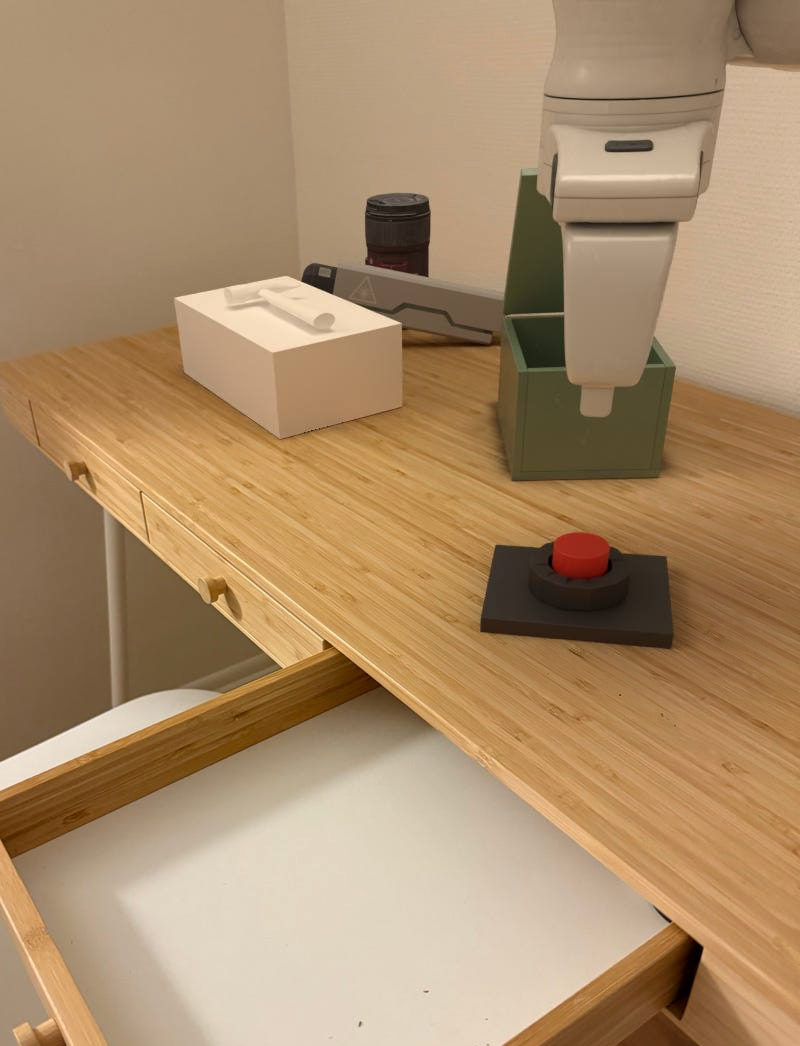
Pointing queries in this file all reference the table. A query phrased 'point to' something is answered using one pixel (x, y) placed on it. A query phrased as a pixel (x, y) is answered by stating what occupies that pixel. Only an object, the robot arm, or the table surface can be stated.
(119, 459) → the table surface
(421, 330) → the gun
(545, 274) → the box lid
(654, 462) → the green box
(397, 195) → the camera lens
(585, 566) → the button
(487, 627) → the button box
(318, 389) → the white rectangular box
